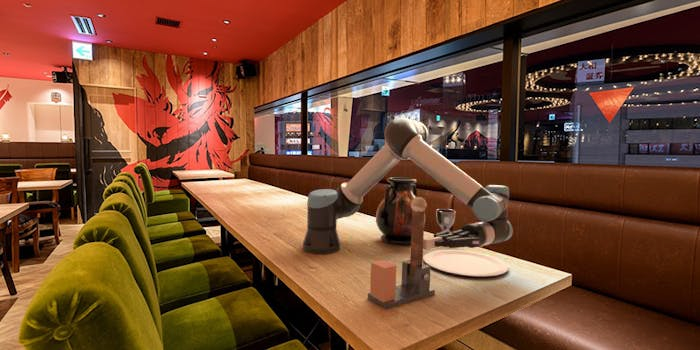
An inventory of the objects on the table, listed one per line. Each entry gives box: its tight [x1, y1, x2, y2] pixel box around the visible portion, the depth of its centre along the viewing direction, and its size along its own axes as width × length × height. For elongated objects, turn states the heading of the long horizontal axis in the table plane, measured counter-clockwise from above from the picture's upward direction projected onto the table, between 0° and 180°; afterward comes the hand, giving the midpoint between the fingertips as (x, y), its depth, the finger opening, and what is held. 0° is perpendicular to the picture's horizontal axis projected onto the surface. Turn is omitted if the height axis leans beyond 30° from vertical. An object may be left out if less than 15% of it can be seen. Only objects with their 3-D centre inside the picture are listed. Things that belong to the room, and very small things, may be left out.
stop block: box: [369, 259, 397, 302], centre depth 95 cm, size 4×6×9 cm
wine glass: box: [435, 208, 456, 248], centre depth 154 cm, size 8×8×15 cm
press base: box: [367, 259, 436, 310], centre depth 99 cm, size 18×9×8 cm, turn 124°
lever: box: [409, 196, 428, 278], centre depth 101 cm, size 4×4×23 cm
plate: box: [422, 249, 510, 278], centre depth 129 cm, size 29×29×2 cm
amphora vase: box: [375, 176, 426, 247], centre depth 157 cm, size 22×22×28 cm
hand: (424, 244), depth 103 cm, fingers closed
